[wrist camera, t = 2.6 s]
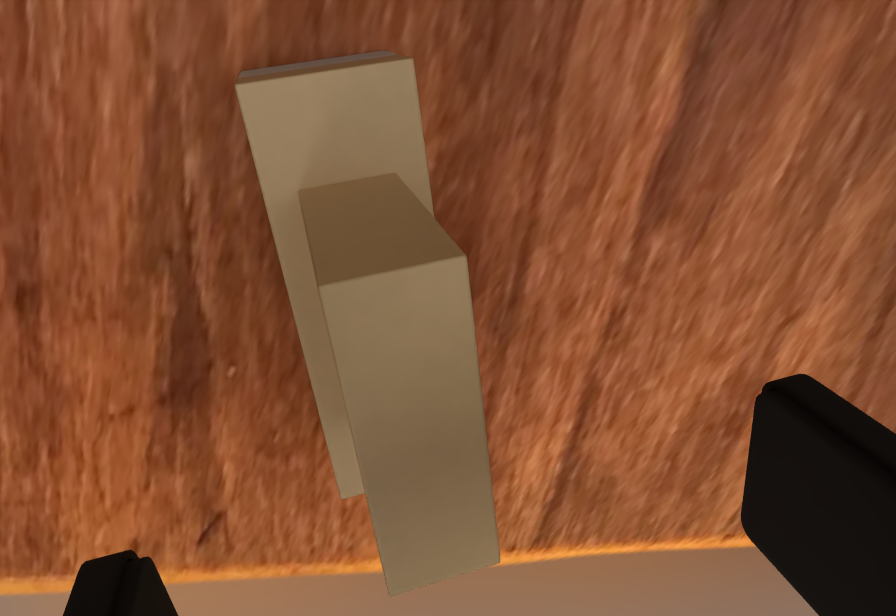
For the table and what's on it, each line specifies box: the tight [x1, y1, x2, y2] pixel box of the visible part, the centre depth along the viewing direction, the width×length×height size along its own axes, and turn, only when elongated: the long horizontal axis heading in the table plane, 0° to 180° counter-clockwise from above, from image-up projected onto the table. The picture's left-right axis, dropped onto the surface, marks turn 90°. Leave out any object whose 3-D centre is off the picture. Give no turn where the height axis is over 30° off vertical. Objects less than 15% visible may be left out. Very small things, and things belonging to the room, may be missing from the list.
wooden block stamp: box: [235, 50, 500, 596], centre depth 15 cm, size 4×12×10 cm, turn 7°
